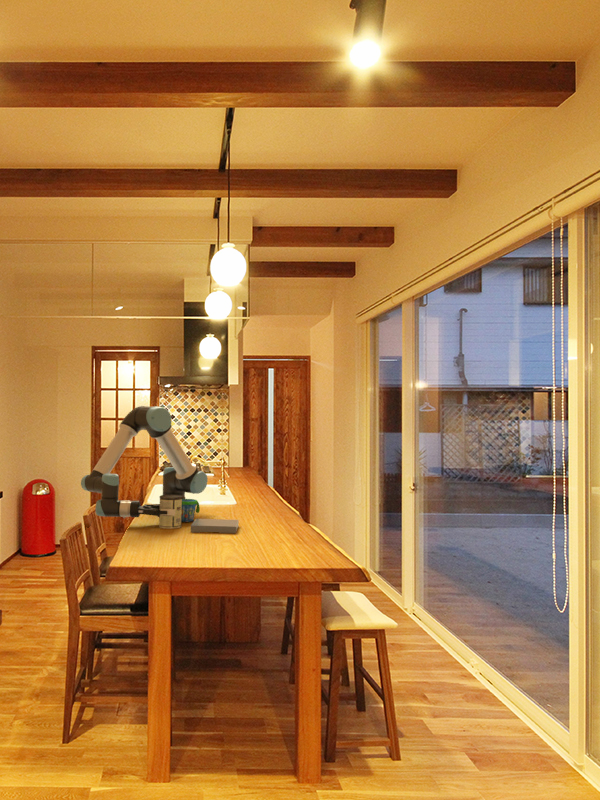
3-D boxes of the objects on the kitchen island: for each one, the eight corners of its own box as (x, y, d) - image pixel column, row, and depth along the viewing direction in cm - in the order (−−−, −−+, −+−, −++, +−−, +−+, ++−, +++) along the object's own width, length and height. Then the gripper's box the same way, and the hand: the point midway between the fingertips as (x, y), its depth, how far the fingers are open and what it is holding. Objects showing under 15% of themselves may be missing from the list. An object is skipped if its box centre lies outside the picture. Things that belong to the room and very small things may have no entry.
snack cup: (192, 518, 331) (193, 497, 331) (205, 521, 323) (206, 500, 323) (165, 521, 320) (166, 499, 320) (178, 524, 312) (178, 502, 312)
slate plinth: (195, 525, 312) (195, 518, 312) (238, 526, 312) (238, 519, 312) (190, 532, 294) (190, 525, 294) (236, 533, 294) (236, 526, 294)
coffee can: (162, 524, 311) (163, 494, 311) (183, 525, 310) (185, 495, 310) (155, 528, 301) (156, 496, 301) (177, 529, 300) (178, 498, 300)
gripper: (136, 512, 317) (181, 514, 318) (124, 521, 292) (172, 523, 293) (136, 497, 317) (181, 498, 318) (124, 504, 292) (173, 506, 293)
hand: (177, 510), depth 305 cm, fingers open, 13 cm apart
